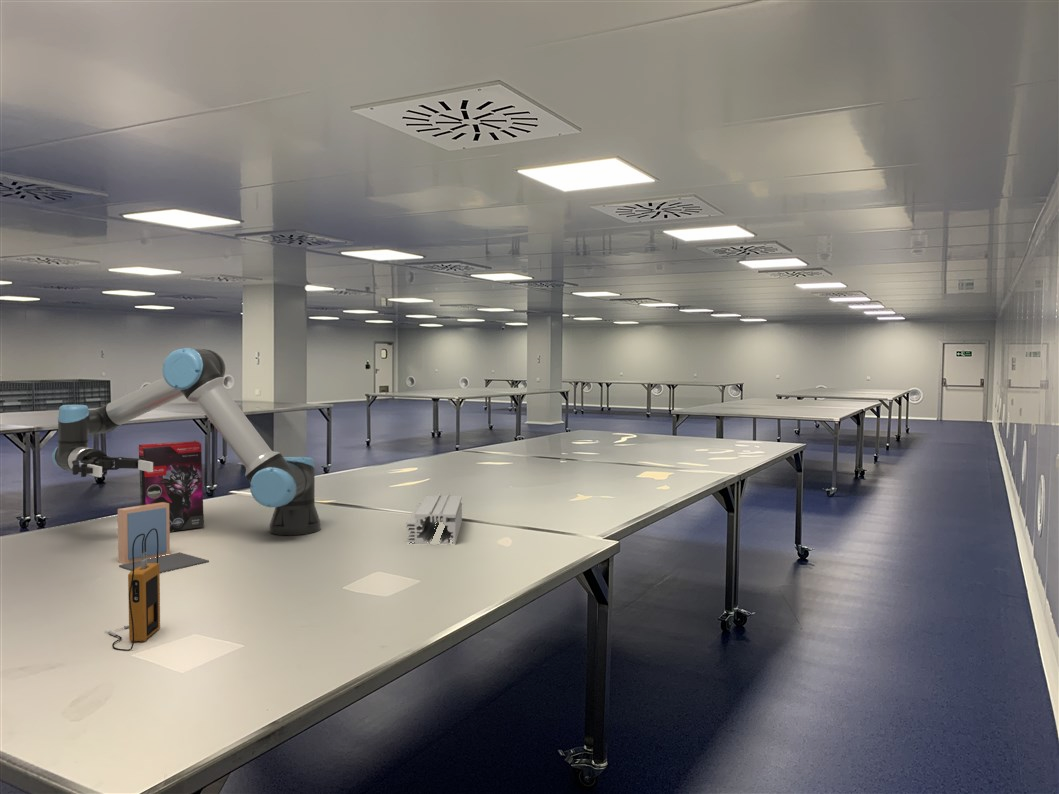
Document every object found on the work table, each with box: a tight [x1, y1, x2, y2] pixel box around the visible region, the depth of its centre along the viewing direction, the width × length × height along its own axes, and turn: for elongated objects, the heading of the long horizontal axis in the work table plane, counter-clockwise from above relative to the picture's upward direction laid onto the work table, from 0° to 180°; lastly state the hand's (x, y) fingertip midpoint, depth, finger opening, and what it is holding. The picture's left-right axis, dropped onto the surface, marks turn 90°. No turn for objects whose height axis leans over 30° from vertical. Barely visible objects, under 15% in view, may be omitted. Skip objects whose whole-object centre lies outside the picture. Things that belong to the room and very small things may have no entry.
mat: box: [118, 552, 210, 574], centre depth 187 cm, size 14×16×1 cm
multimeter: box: [104, 528, 161, 652], centre depth 137 cm, size 15×10×20 cm
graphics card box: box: [138, 440, 205, 532], centre depth 226 cm, size 17×7×27 cm, turn 131°
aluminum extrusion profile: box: [405, 493, 463, 545], centre depth 225 cm, size 14×31×10 cm, turn 2°
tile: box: [117, 502, 171, 565], centre depth 193 cm, size 3×12×14 cm, turn 145°
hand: (126, 469), depth 197 cm, fingers open, 13 cm apart
